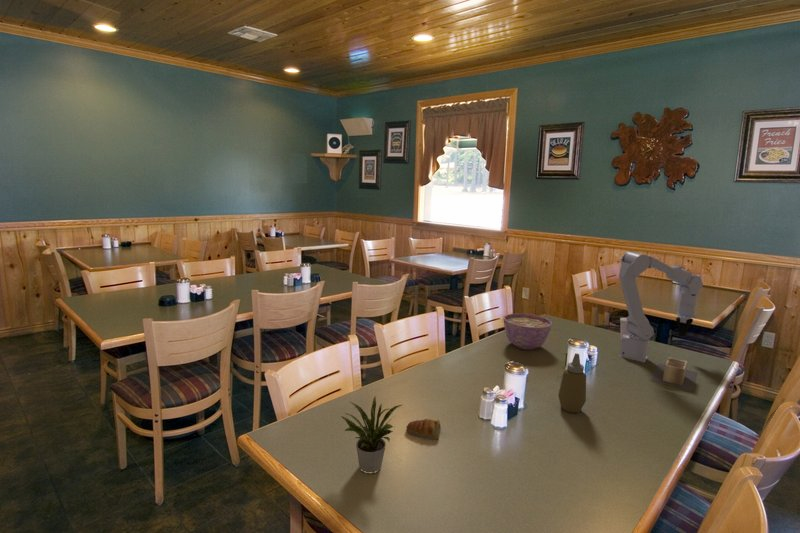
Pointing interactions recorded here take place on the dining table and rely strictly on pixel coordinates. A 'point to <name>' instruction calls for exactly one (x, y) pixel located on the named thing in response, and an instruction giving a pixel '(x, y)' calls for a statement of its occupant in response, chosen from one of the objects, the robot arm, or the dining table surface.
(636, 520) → the dining table surface
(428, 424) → the pastry
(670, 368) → the birch block
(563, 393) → the squeeze bottle
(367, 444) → the house plant
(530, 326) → the bowl of food
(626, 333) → the smoothie
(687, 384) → the rubber mat
